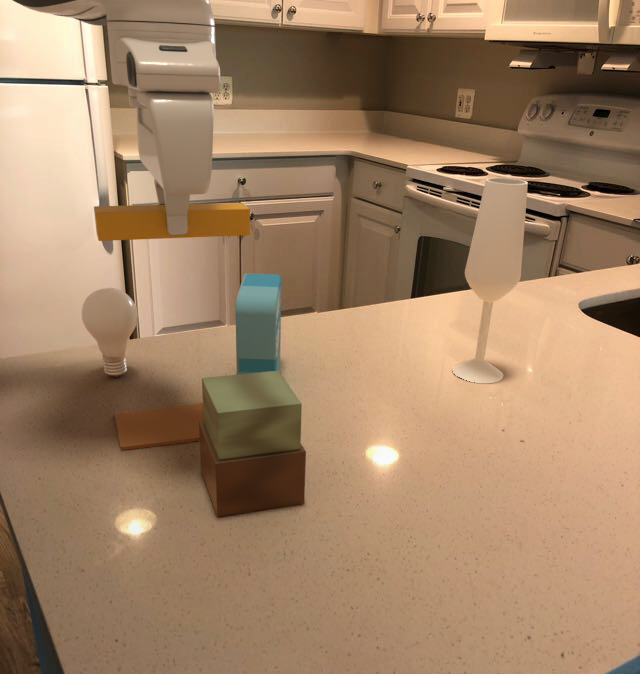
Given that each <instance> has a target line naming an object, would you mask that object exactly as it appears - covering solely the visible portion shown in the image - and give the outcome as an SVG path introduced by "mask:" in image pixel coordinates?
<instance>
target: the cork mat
mask: <svg viewBox="0 0 640 674" xmlns="http://www.w3.org/2000/svg"><path fill="white" fill-rule="evenodd" d="M114 419H115V425H116V430H117V436H118V443H119V447H120V451H128V450H135V449H144V448H151V447H159V446H168V445H175V444H184V443H192V442H200V440H199V421H204V419H203V402H202V403H192V404H182V405H173V406H172V405H171V406H165V407H155V408H154V407H153V408H144V409H137V410H126V411H116V412H114Z"/></svg>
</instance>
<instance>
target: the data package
mask: <svg viewBox="0 0 640 674" xmlns="http://www.w3.org/2000/svg"><path fill="white" fill-rule="evenodd" d="M281 325H282V276H281V274H279V273H278V274H276V273H254V272H253V273H251V272H249V273H248V272H245V273H244V274H243V277H242V280H241V282H240V286H239V289H238V292H237V295H236V298H235V357H236V360H235V361H236V363H235V365H236V375H239V374H249V373H259V372H270V371H279V372H280V365H281V338H282V337H281V332H282V331H281V330H282V329H281V328H282V326H281Z"/></svg>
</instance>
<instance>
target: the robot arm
mask: <svg viewBox="0 0 640 674" xmlns="http://www.w3.org/2000/svg"><path fill="white" fill-rule="evenodd" d="M12 1H13V2H14V3H16V4H18V5H20V6H22V7H25V8H27V9H29V10H31V11H35V12H37V13H38V12H39V13H44V14H49V15H54V16H56V17H57V16H58V17H63V18H64V17H65V18H70V19H71V18H72V19H74V20H77V21H80V22H82V23H85V24H88V25H92V26H100V27H101V26H102V27H103V26H107V27H106V28H107V37H108V48H109V49H108V50H109V60H110V61H109V62H110V72H111V82H112V84H113V85H117V86H124V87H127V92H128V93H127V94H128V96H129V97H128V105H129V106H130V107H132V108H135V123H136V124H135V125H136V137H137V138H136V139H137V152H138V157H139V160H140V162H141V164H142V165H143V166H144V168H146V169H147V171H148V172H149V173H150V174H151V175H152V177H153V182H154V183H153V184H154V188H155V193H156V198H157V203H158V205H165V208H166V212H165V219H166V228H167V230H168V232H169V234H171V235H184V234H186V233H187V231H188V223H187V214H188V207H189V204H190V198H191V195H192V196H193V195H205V194H207V192H208V191H209V188H210V184H211V178H212V171H213V170H212V169H213V152H214V151H213V150H214V149H213V148H214V120H215V119H214V117H215V115H214V114H215V112H214V110H215V109H214V98H213V96H212V95H211V94H217V93H220V90H221V68H220V64H219V61H218V60H217V49H216V23H215V22H216V21H215V17H214V13H213V9H212V4H211V0H12Z"/></svg>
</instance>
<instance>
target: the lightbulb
mask: <svg viewBox="0 0 640 674" xmlns="http://www.w3.org/2000/svg"><path fill="white" fill-rule="evenodd" d="M138 315H139V314H138V309H137V305H136V303H135V301H134V300H133V299H132V298H131V297H130V295H129V294H127V293H126V292H124V291H123V290H121V289H119V288H114V287H102V288H98V289H96V290H94V291H92V292H91V293H90V294H89V295H88V296H87V297H86V298H85V300H84V302H83V304H82V307H81V321H82V324H83V325H84V328H85V329H86V331H87V332H88V333H89V334H90V335H91V337H92V338H93V339H94V340H95V342H96V344H97V348H98V349H99V350H98V351H100V353H101V355H102V363H103V367H104V368H103V370H104V371H103V372H104V373H105V374H106V375H108V376H111V377H113V378H118V377H120V376H122V375H124V374H125V373H126V372H127V371H128V368H127V358H126V352H127V349H128V346H129V345H128V343H129V339H130V337H131V335H132V333H134V330H135V328H136V326H137V323H138Z"/></svg>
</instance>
